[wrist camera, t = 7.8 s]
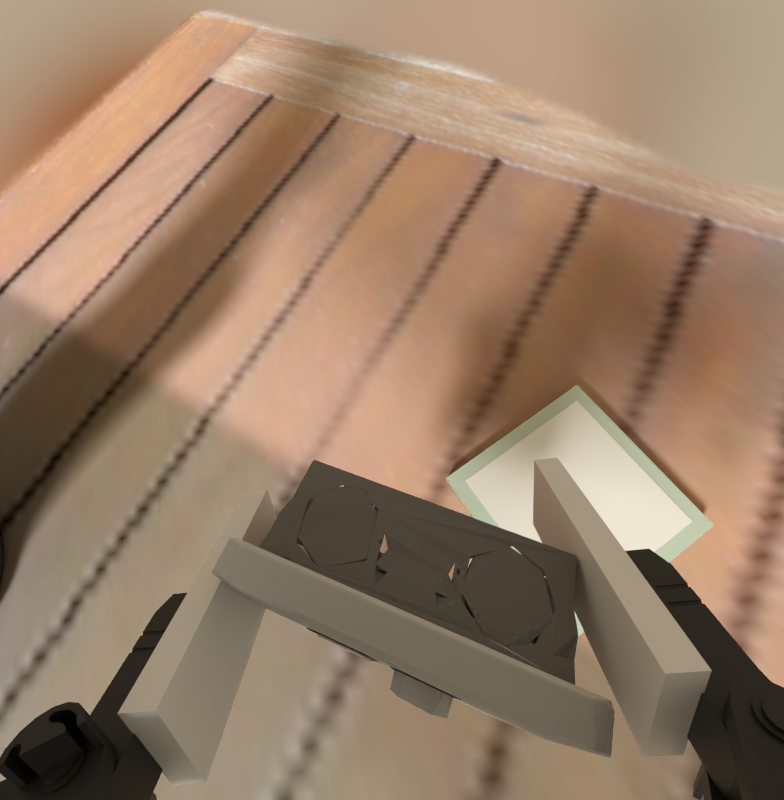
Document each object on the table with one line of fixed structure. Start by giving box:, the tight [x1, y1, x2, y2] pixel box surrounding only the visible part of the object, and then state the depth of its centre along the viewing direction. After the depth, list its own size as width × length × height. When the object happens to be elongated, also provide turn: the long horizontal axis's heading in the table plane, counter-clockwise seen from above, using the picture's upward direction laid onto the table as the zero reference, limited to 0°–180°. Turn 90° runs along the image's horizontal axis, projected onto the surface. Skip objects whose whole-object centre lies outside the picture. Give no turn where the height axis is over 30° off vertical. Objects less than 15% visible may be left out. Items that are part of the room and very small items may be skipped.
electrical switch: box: [211, 460, 614, 758], centre depth 12 cm, size 9×5×9 cm, turn 70°
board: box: [446, 385, 714, 636], centre depth 28 cm, size 13×13×2 cm
